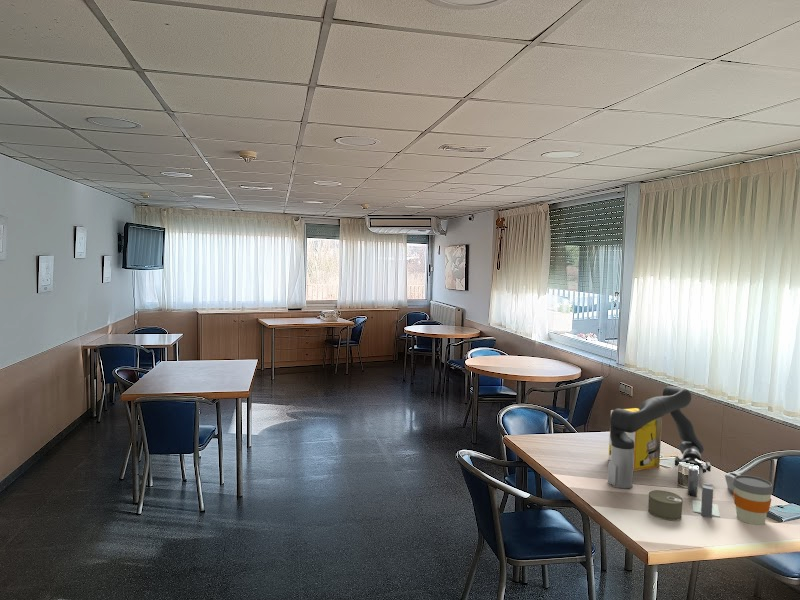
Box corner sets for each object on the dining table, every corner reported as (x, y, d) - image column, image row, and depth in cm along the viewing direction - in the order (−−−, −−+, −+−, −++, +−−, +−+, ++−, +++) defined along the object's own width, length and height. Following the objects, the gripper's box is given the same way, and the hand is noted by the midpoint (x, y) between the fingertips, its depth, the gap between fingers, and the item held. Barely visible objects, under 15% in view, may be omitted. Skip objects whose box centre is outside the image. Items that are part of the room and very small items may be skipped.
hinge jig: (692, 500, 216) (693, 474, 216) (717, 505, 212) (719, 478, 212) (693, 513, 204) (694, 486, 203) (720, 519, 200) (721, 491, 199)
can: (651, 504, 212) (652, 487, 212) (685, 513, 204) (686, 496, 204) (643, 514, 203) (644, 496, 202) (678, 524, 195) (679, 506, 195)
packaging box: (659, 467, 254) (662, 416, 253) (633, 471, 248) (636, 418, 247) (633, 455, 269) (635, 407, 268) (608, 459, 263) (610, 410, 262)
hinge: (764, 505, 214) (757, 482, 213) (752, 508, 214) (745, 485, 213) (739, 488, 230) (732, 467, 230) (728, 491, 230) (721, 470, 230)
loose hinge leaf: (696, 492, 225) (697, 467, 224) (696, 497, 219) (698, 471, 219) (687, 490, 226) (688, 465, 226) (687, 495, 221) (689, 470, 220)
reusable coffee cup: (756, 529, 192) (759, 489, 191) (723, 515, 204) (726, 477, 203) (778, 524, 197) (780, 485, 196) (744, 510, 209) (747, 473, 208)
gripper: (675, 447, 250) (675, 458, 236) (709, 452, 244) (711, 464, 229) (674, 463, 251) (674, 474, 236) (709, 468, 244) (710, 480, 230)
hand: (692, 469), depth 233 cm, fingers open, 8 cm apart
